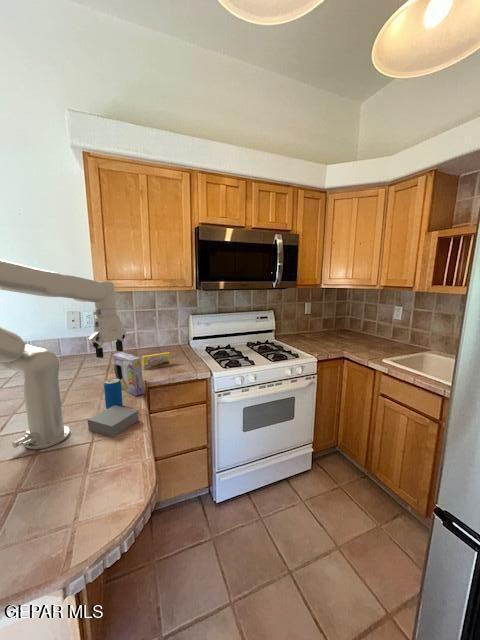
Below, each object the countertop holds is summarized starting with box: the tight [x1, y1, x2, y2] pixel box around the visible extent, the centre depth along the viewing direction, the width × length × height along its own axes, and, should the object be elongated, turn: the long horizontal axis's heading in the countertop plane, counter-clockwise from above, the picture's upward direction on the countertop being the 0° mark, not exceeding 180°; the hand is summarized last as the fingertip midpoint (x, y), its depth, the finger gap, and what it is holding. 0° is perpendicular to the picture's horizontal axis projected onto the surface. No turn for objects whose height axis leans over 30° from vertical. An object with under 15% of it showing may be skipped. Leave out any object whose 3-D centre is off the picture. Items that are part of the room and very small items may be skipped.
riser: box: [87, 405, 139, 438], centre depth 100 cm, size 12×12×4 cm
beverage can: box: [103, 377, 124, 410], centre depth 113 cm, size 6×6×12 cm
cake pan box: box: [112, 351, 145, 397], centre depth 131 cm, size 19×5×18 cm, turn 50°
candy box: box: [142, 351, 171, 371], centre depth 165 cm, size 16×2×8 cm, turn 123°
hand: (110, 354), depth 111 cm, fingers open, 9 cm apart
